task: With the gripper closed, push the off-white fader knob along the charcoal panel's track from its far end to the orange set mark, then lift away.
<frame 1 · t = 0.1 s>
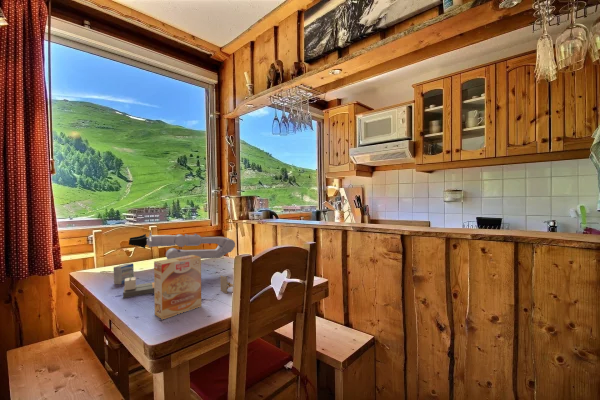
hand: (129, 241, 130), 22 cm above the table, tool horizontal, fingers open, 7 cm apart
fader panel: (143, 291, 123), on the table
medicine box: (124, 282, 137), on the table
architectural model: (225, 293, 121), on the table
coffeecake box: (179, 311, 101), on the table
fader knob: (130, 283, 120), point 4 cm above the table, slide at 5.0 cm
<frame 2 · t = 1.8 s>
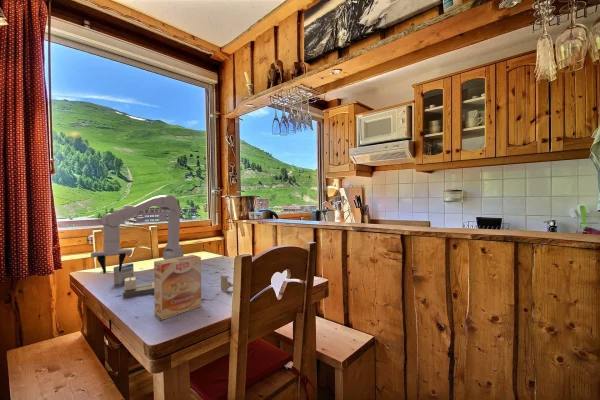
hand: (112, 272, 117), 10 cm above the table, tool pointing down, fingers open, 5 cm apart
nothing on the table moved.
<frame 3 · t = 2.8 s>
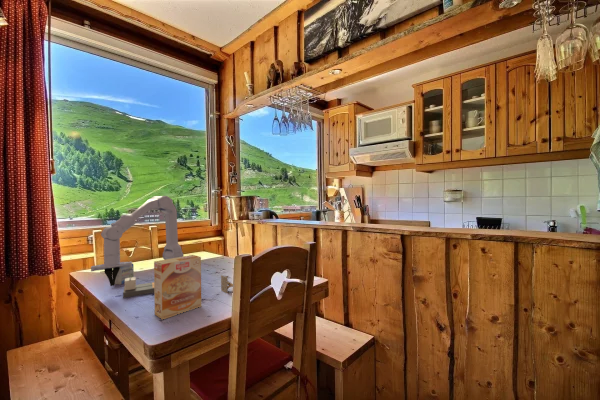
hand: (112, 285, 117), 5 cm above the table, tool pointing down, fingers closed
nothing on the table moved.
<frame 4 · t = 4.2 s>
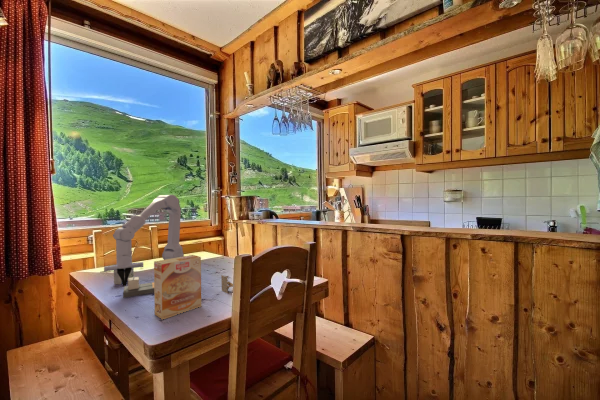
hand: (124, 285, 119), 4 cm above the table, tool pointing down, fingers closed
fader knob: (133, 282, 121), point 4 cm above the table, slide at 3.8 cm, touching gripper
everything else where it was.
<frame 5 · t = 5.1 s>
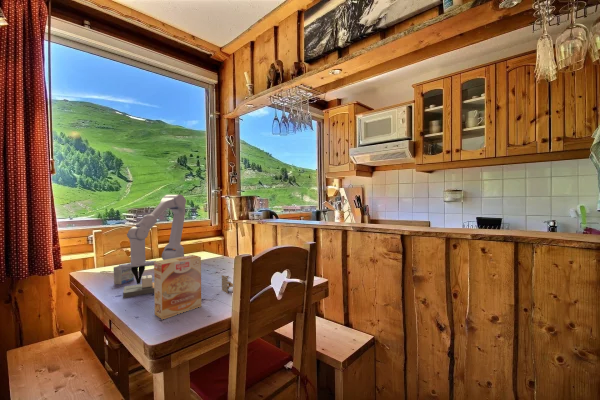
hand: (138, 283, 122), 4 cm above the table, tool pointing down, fingers closed
fader knob: (147, 281, 124), point 4 cm above the table, slide at -1.5 cm, touching gripper
everything else where it was.
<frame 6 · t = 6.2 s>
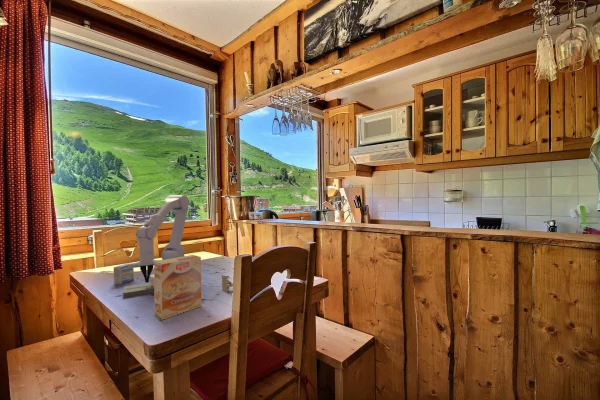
hand: (147, 282, 124), 4 cm above the table, tool pointing down, fingers closed
fader knob: (155, 279, 125), point 4 cm above the table, slide at -4.8 cm, touching gripper
everything else where it was.
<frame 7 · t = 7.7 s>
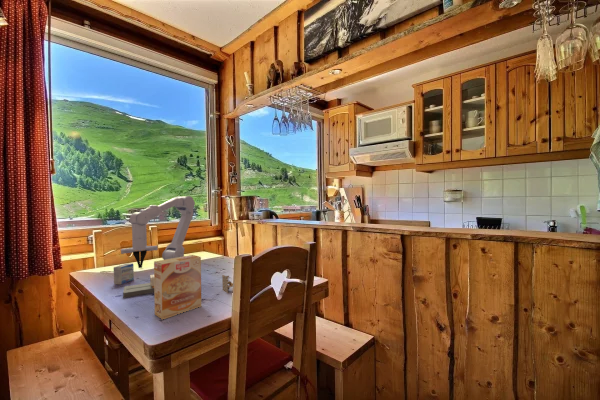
hand: (140, 267, 125), 10 cm above the table, tool pointing down, fingers closed
fader knob: (155, 279, 125), point 4 cm above the table, slide at -4.8 cm
everything else where it was.
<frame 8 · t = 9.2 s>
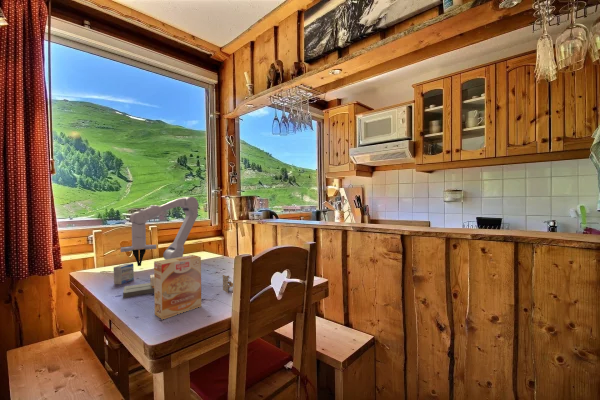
hand: (139, 265, 128), 10 cm above the table, tool pointing down, fingers closed
at the end: fader knob slide at -4.8 cm; the gripper is holding nothing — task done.
